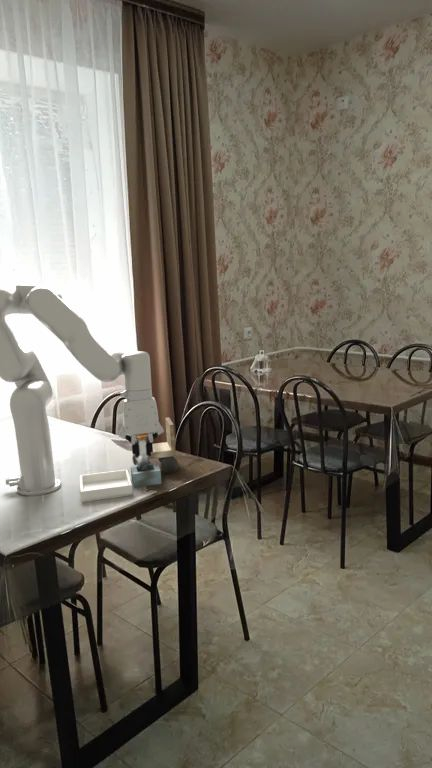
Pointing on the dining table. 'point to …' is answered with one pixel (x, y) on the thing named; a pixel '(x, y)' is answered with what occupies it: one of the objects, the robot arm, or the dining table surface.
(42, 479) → the robot arm
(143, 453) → the stop pin
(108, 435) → the dining table surface
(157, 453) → the trolley
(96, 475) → the tray
